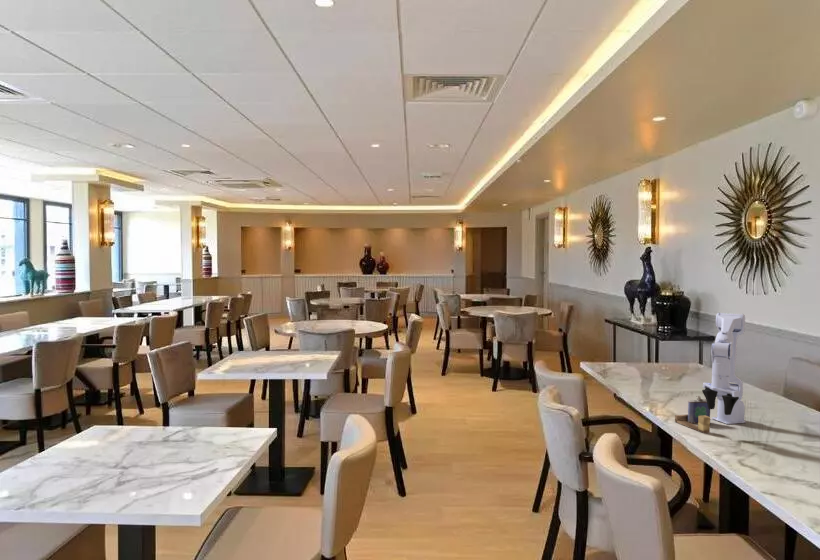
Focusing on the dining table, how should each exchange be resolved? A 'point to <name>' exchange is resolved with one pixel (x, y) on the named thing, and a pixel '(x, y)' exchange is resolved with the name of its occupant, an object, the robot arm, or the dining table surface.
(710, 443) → the dining table surface
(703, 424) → the wooden t-shaped handle
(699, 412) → the flask
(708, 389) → the robot arm
